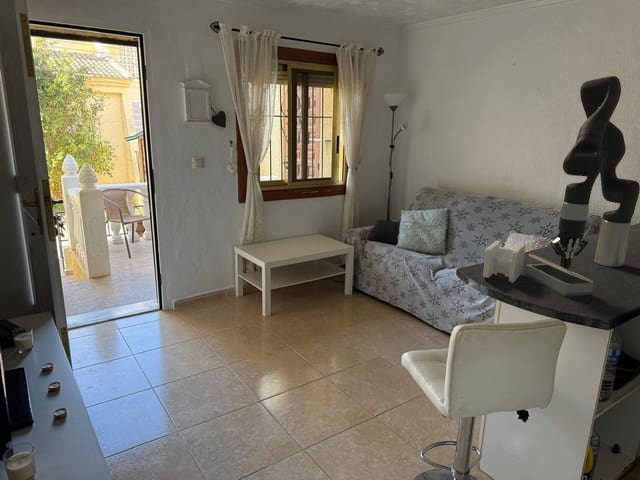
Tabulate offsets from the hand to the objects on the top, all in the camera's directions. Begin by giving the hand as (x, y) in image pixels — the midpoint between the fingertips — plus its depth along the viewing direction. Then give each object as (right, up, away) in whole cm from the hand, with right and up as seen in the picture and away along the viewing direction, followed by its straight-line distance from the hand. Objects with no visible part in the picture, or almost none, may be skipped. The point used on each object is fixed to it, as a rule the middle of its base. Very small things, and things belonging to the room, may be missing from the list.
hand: (564, 268), depth 147 cm
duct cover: (0, 0, +5) cm, 5 cm away
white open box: (0, -6, +6) cm, 8 cm away
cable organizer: (-16, -4, +12) cm, 20 cm away
